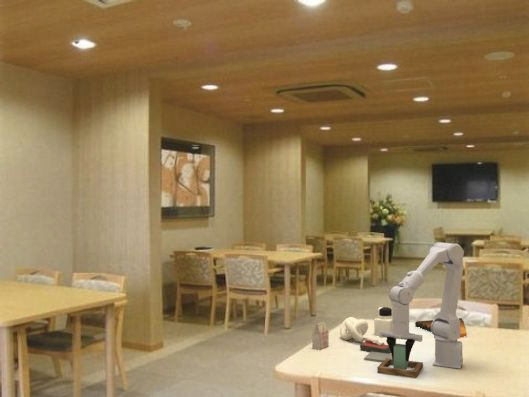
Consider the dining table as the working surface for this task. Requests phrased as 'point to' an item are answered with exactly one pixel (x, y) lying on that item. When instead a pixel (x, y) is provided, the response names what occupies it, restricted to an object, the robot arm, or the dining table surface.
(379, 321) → the medicine bottle
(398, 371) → the brown square frame
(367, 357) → the ceramic tile
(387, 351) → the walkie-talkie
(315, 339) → the tea box
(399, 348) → the green block
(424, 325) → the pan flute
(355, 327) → the cream rounded sculpture
